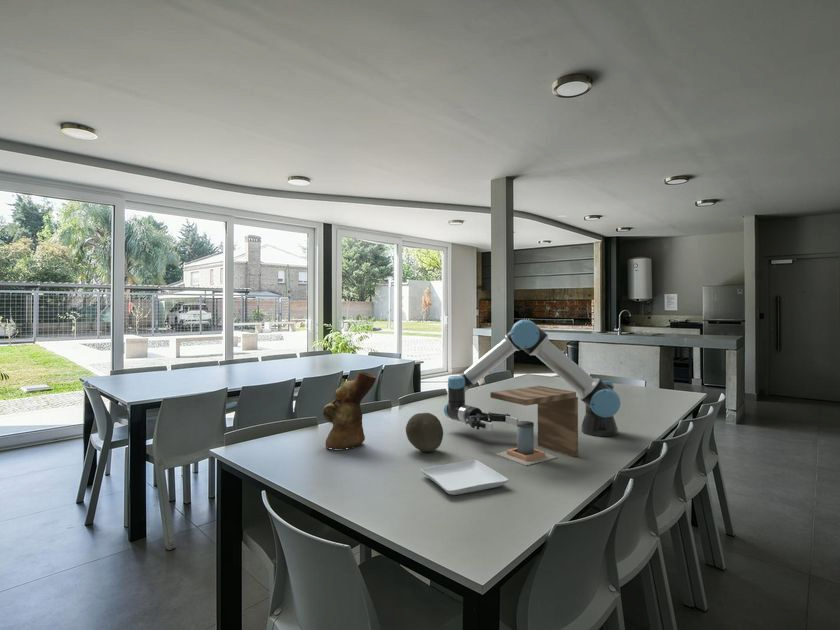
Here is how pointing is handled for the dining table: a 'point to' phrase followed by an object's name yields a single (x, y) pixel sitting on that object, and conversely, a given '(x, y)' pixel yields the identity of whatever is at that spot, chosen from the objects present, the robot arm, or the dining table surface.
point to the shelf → (550, 415)
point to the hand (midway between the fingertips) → (505, 424)
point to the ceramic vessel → (348, 412)
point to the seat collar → (526, 456)
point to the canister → (525, 437)
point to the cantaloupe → (424, 432)
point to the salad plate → (464, 477)
